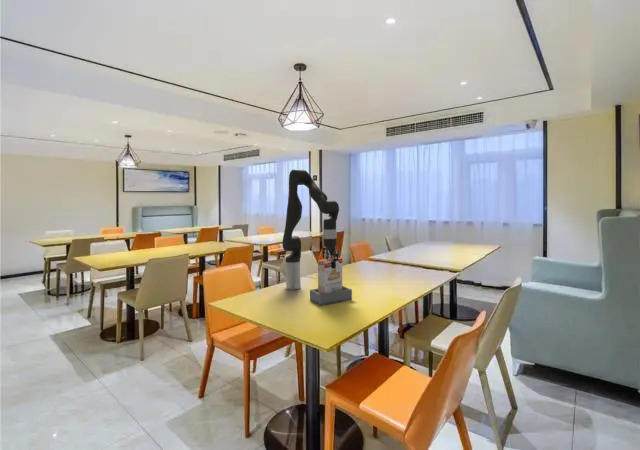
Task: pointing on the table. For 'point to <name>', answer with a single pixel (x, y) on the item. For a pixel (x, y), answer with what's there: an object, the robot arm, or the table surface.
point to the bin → (331, 296)
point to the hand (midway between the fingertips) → (330, 267)
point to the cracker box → (329, 276)
